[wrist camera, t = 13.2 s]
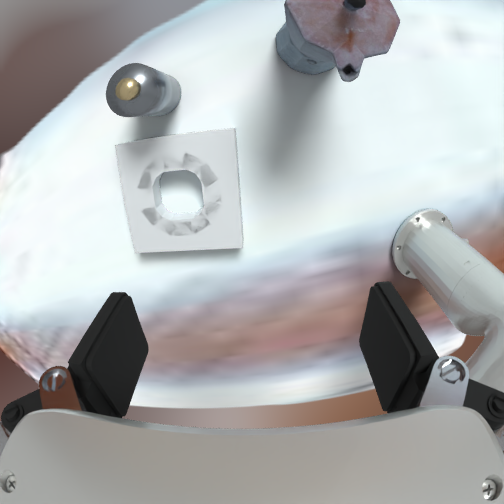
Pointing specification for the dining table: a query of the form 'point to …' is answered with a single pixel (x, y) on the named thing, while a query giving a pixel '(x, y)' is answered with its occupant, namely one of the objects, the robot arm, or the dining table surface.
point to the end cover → (142, 91)
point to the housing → (213, 188)
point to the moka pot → (335, 34)
